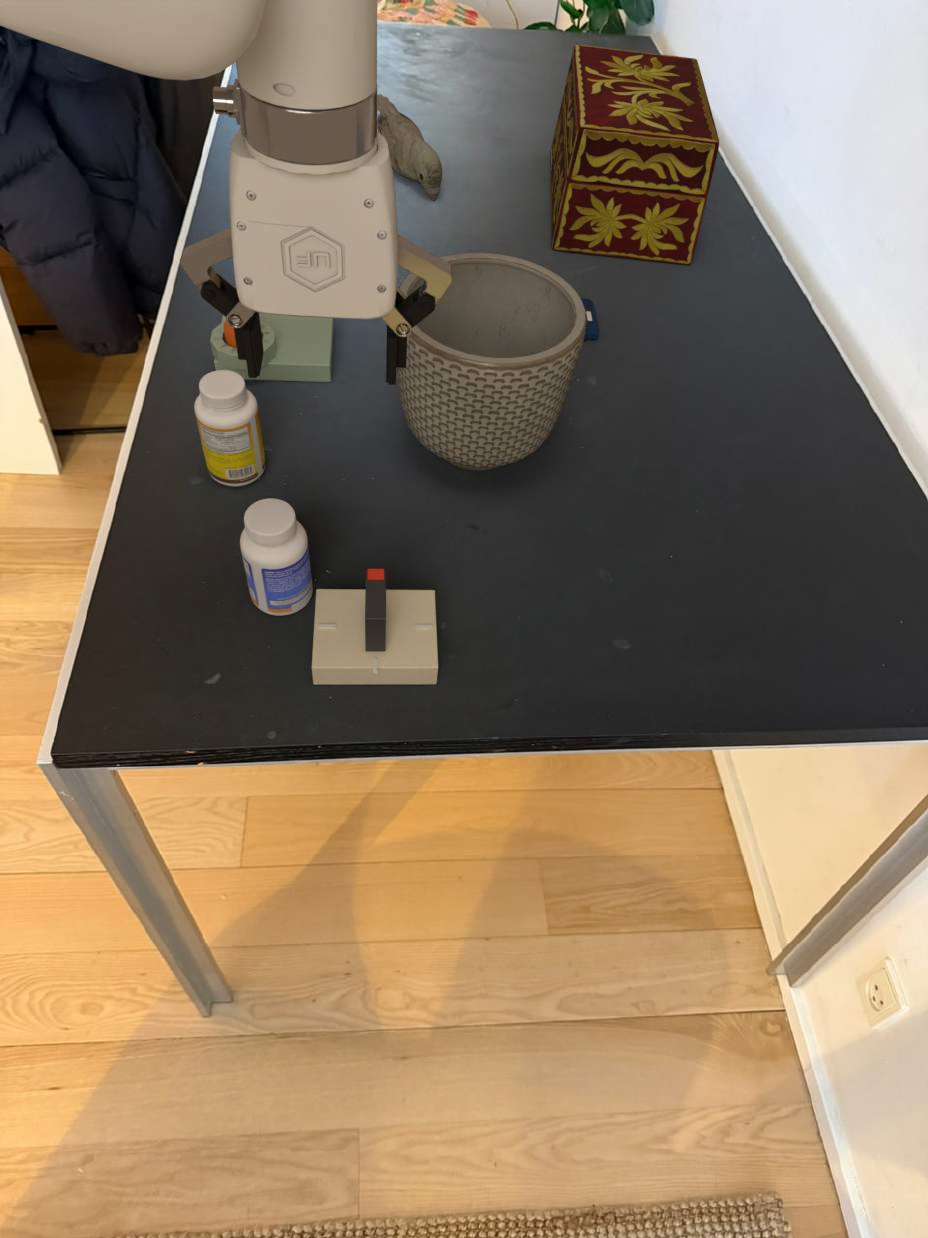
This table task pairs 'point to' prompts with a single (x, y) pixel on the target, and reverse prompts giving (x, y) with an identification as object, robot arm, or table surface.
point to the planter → (491, 360)
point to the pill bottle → (276, 558)
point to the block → (283, 349)
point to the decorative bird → (408, 147)
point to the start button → (229, 335)
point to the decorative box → (631, 156)
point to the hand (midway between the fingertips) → (324, 369)
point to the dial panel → (344, 639)
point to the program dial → (375, 610)
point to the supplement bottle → (229, 429)
